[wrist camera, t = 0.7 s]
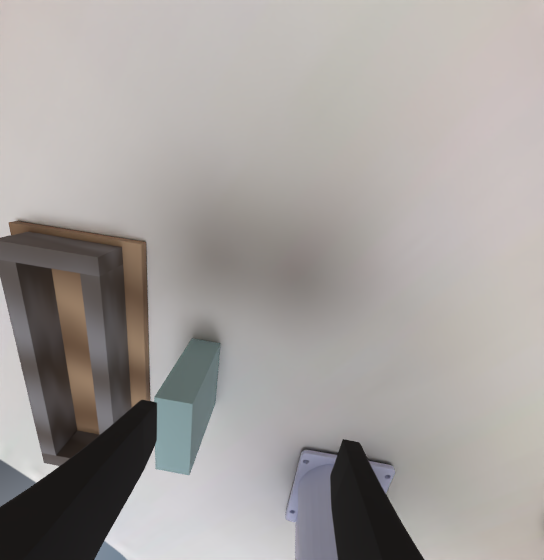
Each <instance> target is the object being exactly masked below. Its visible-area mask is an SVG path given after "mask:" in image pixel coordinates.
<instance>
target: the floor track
mask: <svg viewBox="0 0 544 560" xmlns="http://www.w3.org/2000/svg"><path fill="white" fill-rule="evenodd" d="M9 227H10V232H11V236H6V237H2V238H0V277H1V282H2V286H3V290H4V294H5V299H6V303H7V307H8V311H9V316H10V320H11V324H12V328H13V333H14V337H15V341H16V345H17V350H18V354H19V358H20V362H21V367H22V371H23V375H24V379H25V384H26V388H27V392H28V396H29V401H30V405H31V409H32V413H33V418H34V422H35V426H36V431H37V435H38V439H39V443H40V448H41V452H42V456H43V460H44V463H47V464H53V465H58V466H61V465H62V464H63V463H65V462H66V461H67V460H69V459H70V458H71V457H72V456H74V455H75V454H76V453H78V452H79V451H80V450H82V449H83V448H84V447H85V446H87V445H88V444H89V443H90V442H92V441H93V440H94V439H95V438H97V437H98V436H99V435H100V434H101V433H103V432H104V431H105V430H106V429H108V428H109V427H110V426H111V425H112V424H113V423H115V422H116V421H117V420H118V419H119V418H120V417H122V416H123V415H124V414H125V413H126V412H127V411H129V410H130V409H131V408H132V407H133V406H134V405H135V404H137V403H138V402H139V401H140V400H147V401H150V380H149V342H148V303H147V265H146V242H142V241H136V240H130V239H124V238H118V237H112V236H105V235H99V234H93V233H87V232H81V231H75V230H69V229H63V228H57V227H51V226H44V225H38V224H32V223H26V222H20V221H14V222H9Z"/></svg>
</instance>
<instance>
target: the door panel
mask: <svg viewBox="0 0 544 560" xmlns="http://www.w3.org/2000/svg"><path fill="white" fill-rule="evenodd" d="M219 355H220V343H216V342H210V341H204V340H198V339H193V338H192V339H191V341H190V342H189V344H188V346H187V347H186V349H185V350H184V352H183V353H182V355H181V356H180V358H179V360H178V361H177V363H176V364H175V366H174V367H173V369H172V371H171V372H170V374H169V375H168V377H167V378H166V380H165V381H164V383H163V385H162V386H161V388H160V389H159V391H158V392H157V394H156V395H155V397H154V402H157V441H156V444H155V459H156V469H159V470H164V471H169V472H174V473H180V474H185V475H190V472H191V469H192V466H193V464H194V461H195V458H196V455H197V452H198V450H199V447H200V444H201V441H202V439H203V436H204V433H205V430H206V428H207V425H208V422H209V419H210V416H211V414H212V411H213V408H214V405H215V401H216V389H217V378H218V366H219Z"/></svg>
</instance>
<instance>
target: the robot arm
mask: <svg viewBox="0 0 544 560" xmlns="http://www.w3.org/2000/svg"><path fill="white" fill-rule="evenodd" d="M156 441H157V402H152V401H147V400H140V401H139V402H138V403H137V404H135V405H134V406H133V407H132V408H131V409H130V410H129V411H127V412H126V413H125V414H124V415H123V416H122V417H120V418H119V419H118V420H117V421H116V422H115V423H113V424H112V425H111V426H110V427H109V428H108V429H106V430H105V431H104V432H103V433H101V434H100V435H99V436H98V437H97V438H95V439H94V440H93V441H92V442H90V443H89V444H88V445H87V446H85V447H84V448H83V449H82V450H80V451H79V452H78V453H76V454H75V455H74V456H72V457H71V458H70V459H69V460H67V461H66V462H65V463H63V464H62V465H61V466H59V467H58V468H57V469H55V470H54V471H53V472H51V473H50V474H48V475H47V476H46V477H44V478H43V479H41V480H40V481H38V482H37V483H36V484H34V485H33V486H31V487H30V488H29V489H27V490H26V491H24V492H22V493H21V494H19V495H18V496H16V497H15V498H13V499H12V500H10V501H9V502H7V503H6V504H4V505H3V506H1V507H0V560H94V559H95V557H96V555H97V553H98V551H99V549H100V547H101V546H102V544H103V542H104V540H105V538H106V536H107V535H108V533H109V531H110V529H111V528H112V526H113V524H114V522H115V520H116V519H117V517H118V515H119V513H120V512H121V510H122V508H123V506H124V505H125V503H126V501H127V499H128V497H129V496H130V494H131V492H132V490H133V489H134V487H135V485H136V483H137V481H138V480H139V478H140V476H141V474H142V472H143V471H144V468H145V466H146V464H147V462H148V460H149V457H150V455H151V453H152V450H153V448H154V446H155V444H156ZM394 475H395V470H394V467H393V466H392V465H388V464H383V463H377V462H372V461H368V459H367V456H366V454H365V452H364V450H363V448H362V446H361V445H360V443H359V442H354V441H349V440H344V439H343V441H342V444H341V446H340V449H339V452H338V455H334V454H328V453H323V452H317V451H312V450H303V451H302V452H301V456H300V460H299V464H298V467H297V471H296V475H295V479H294V483H293V487H292V491H291V494H290V498H289V502H288V506H287V510H286V519H287V520H288V521H292V522H296V536H295V560H424V558H423V557H422V555H421V554H420V552H419V550H418V549H417V547H416V546H415V544H414V542H413V541H412V539H411V537H410V536H409V534H408V532H407V531H406V529H405V527H404V526H403V524H402V522H401V520H400V519H399V517H398V515H397V513H396V512H395V510H394V508H393V506H392V504H391V503H390V501H389V499H388V497H387V495H386V492H387V490H388V488H389V486H390V483H391V481H392V479H393V477H394Z"/></svg>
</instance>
